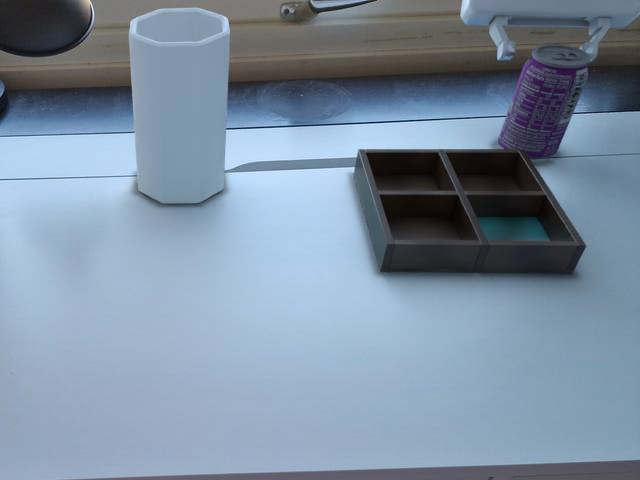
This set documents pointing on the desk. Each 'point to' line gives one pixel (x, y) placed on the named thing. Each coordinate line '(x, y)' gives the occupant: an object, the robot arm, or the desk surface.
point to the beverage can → (545, 100)
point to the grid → (463, 212)
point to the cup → (180, 102)
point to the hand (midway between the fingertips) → (546, 59)
